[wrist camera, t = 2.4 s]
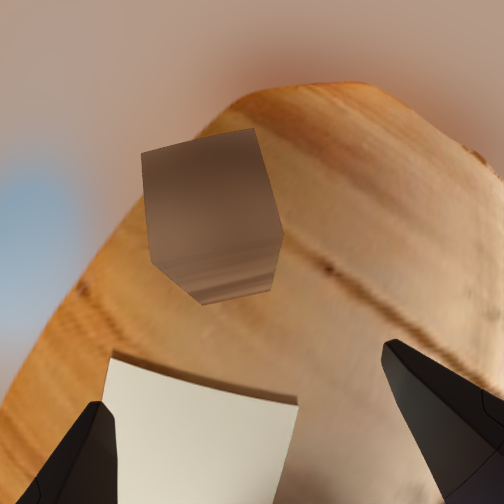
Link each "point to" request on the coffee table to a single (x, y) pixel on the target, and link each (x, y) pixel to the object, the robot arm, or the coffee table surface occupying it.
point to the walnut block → (212, 216)
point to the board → (194, 440)
